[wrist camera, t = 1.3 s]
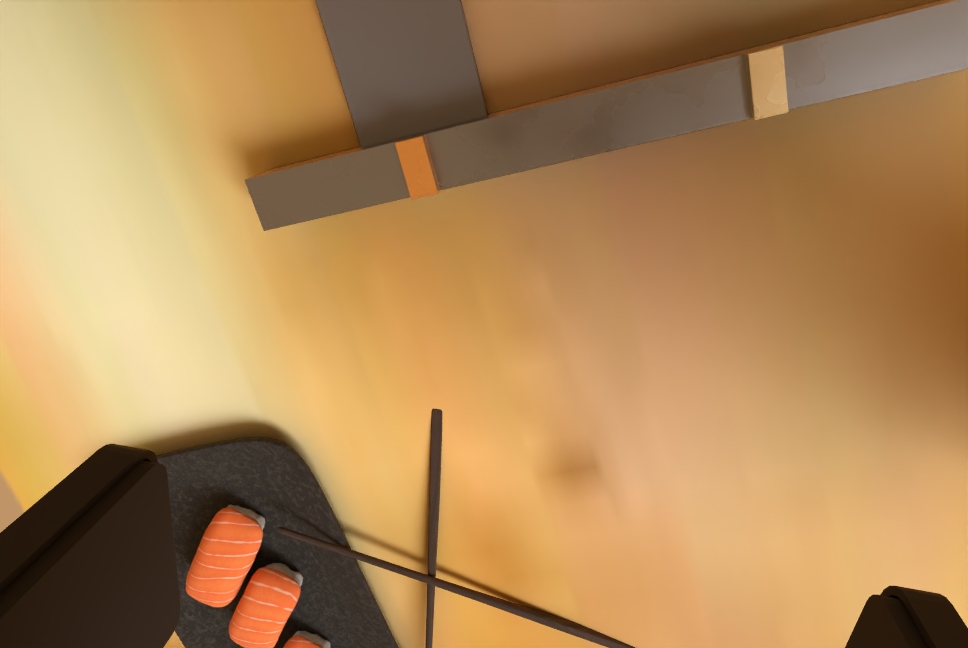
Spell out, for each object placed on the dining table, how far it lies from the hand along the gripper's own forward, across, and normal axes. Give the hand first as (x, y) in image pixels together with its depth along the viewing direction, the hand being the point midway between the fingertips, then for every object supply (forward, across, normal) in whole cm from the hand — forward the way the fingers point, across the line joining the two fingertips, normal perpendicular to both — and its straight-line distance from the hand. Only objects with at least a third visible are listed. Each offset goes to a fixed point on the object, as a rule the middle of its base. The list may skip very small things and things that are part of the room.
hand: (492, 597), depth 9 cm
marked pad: (+24, +8, -7) cm, 26 cm away
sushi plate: (+25, +6, +27) cm, 37 cm away
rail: (+24, 0, -4) cm, 24 cm away
